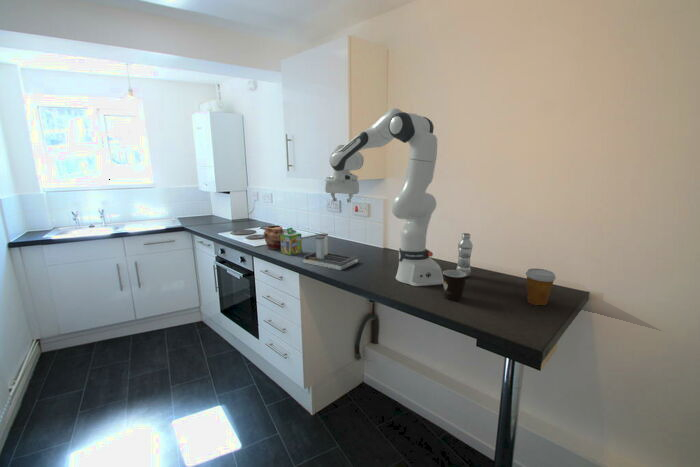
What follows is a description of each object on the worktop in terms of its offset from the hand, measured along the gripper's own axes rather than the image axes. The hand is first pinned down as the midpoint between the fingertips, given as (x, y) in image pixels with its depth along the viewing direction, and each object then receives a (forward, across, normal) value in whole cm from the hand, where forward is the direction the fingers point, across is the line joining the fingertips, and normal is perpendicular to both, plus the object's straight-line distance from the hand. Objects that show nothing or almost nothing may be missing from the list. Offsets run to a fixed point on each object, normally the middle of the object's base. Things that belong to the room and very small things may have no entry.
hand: (341, 201), depth 174 cm
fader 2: (+29, -6, -10) cm, 31 cm away
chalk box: (+31, -30, -10) cm, 44 cm away
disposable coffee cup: (+31, +97, -13) cm, 103 cm away
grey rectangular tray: (+31, +2, -13) cm, 34 cm away
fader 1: (+29, -2, -17) cm, 33 cm away
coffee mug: (+31, +68, -25) cm, 79 cm away
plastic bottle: (+31, +66, +2) cm, 73 cm away
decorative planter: (+31, -47, -6) cm, 57 cm away
